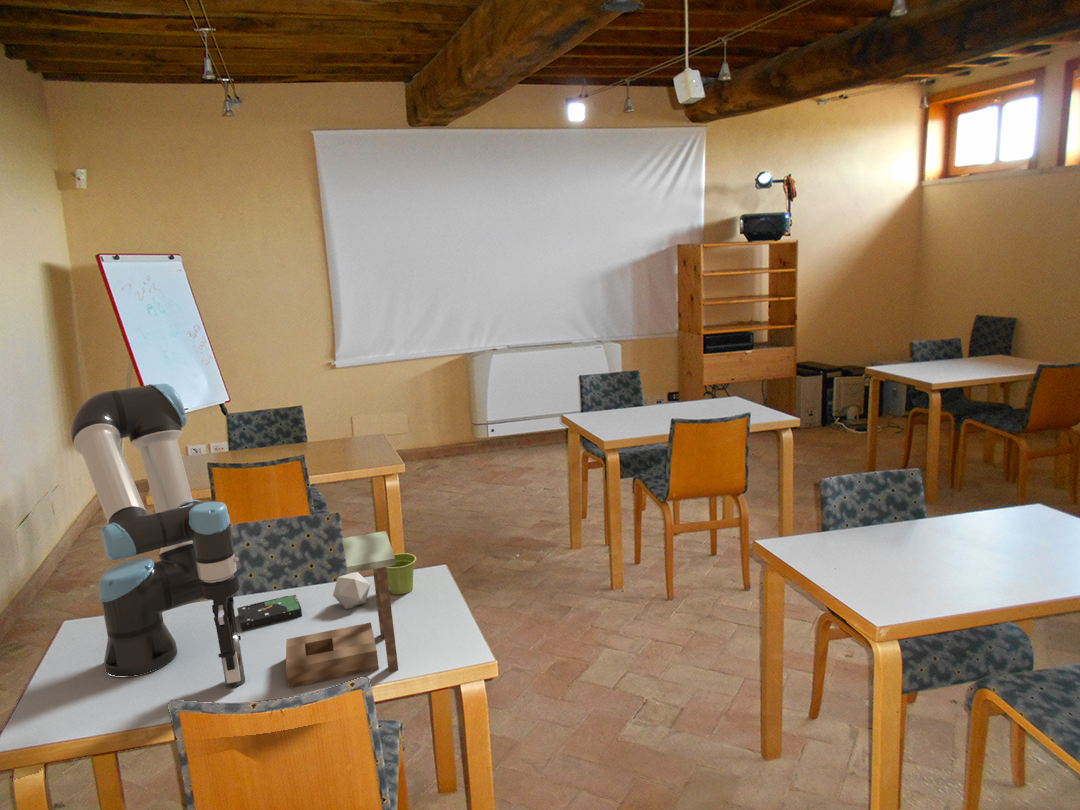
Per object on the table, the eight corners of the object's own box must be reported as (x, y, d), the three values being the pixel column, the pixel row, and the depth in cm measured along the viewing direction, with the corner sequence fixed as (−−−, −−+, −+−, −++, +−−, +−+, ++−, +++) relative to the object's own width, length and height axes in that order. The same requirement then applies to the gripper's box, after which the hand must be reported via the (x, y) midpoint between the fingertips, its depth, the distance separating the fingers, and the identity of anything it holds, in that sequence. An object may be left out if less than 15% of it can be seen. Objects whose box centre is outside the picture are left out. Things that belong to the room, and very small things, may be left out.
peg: (225, 689, 168) (217, 642, 165) (226, 679, 171) (219, 633, 169) (244, 685, 169) (237, 638, 166) (245, 675, 172) (238, 630, 170)
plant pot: (426, 585, 213) (422, 555, 211) (406, 600, 205) (402, 569, 203) (397, 581, 217) (394, 551, 215) (377, 595, 209) (373, 565, 207)
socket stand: (288, 693, 164) (271, 580, 159) (289, 653, 181) (274, 549, 176) (407, 667, 171) (395, 558, 166) (397, 631, 188) (385, 530, 183)
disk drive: (242, 634, 194) (303, 617, 200) (240, 623, 193) (301, 607, 199) (238, 617, 203) (296, 602, 209) (236, 607, 202) (295, 592, 208)
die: (364, 595, 211) (338, 570, 208) (382, 586, 205) (355, 560, 203) (347, 619, 204) (320, 593, 202) (366, 610, 199) (338, 584, 196)
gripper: (234, 588, 158) (250, 692, 163) (240, 557, 174) (254, 653, 178) (194, 595, 156) (212, 700, 161) (203, 563, 172) (219, 660, 176)
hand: (234, 675), depth 170 cm, fingers closed on peg, 4 cm apart
